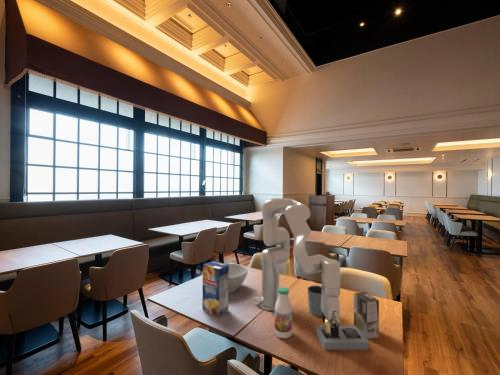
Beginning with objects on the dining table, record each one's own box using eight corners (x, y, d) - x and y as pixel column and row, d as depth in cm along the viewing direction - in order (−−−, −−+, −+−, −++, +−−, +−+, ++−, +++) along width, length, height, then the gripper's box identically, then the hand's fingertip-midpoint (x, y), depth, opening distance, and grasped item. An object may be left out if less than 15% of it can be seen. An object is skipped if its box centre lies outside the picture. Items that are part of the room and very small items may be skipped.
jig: (324, 349, 93) (324, 339, 93) (316, 332, 104) (316, 323, 104) (368, 349, 93) (368, 339, 93) (355, 332, 104) (355, 323, 104)
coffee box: (379, 337, 101) (379, 300, 101) (366, 339, 100) (367, 302, 100) (365, 325, 110) (365, 291, 110) (353, 327, 109) (353, 292, 109)
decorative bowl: (255, 286, 153) (255, 268, 153) (230, 303, 130) (231, 281, 130) (223, 277, 167) (223, 260, 167) (196, 291, 144) (197, 272, 145)
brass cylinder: (326, 344, 96) (327, 322, 96) (323, 337, 101) (323, 316, 101) (337, 344, 96) (337, 322, 96) (333, 337, 101) (333, 316, 101)
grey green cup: (327, 309, 125) (327, 286, 125) (327, 319, 115) (327, 295, 115) (308, 305, 128) (308, 284, 128) (306, 315, 118) (306, 291, 118)
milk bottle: (273, 328, 107) (273, 285, 107) (289, 328, 107) (289, 285, 107) (276, 339, 99) (276, 293, 99) (293, 338, 100) (294, 292, 100)
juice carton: (202, 309, 123) (202, 264, 123) (212, 303, 129) (212, 261, 129) (218, 316, 116) (219, 269, 116) (228, 310, 122) (228, 265, 122)
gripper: (315, 280, 107) (315, 317, 107) (329, 298, 90) (328, 342, 90) (331, 281, 107) (331, 317, 107) (348, 298, 90) (347, 342, 90)
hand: (330, 329), depth 99 cm, fingers open, 9 cm apart
